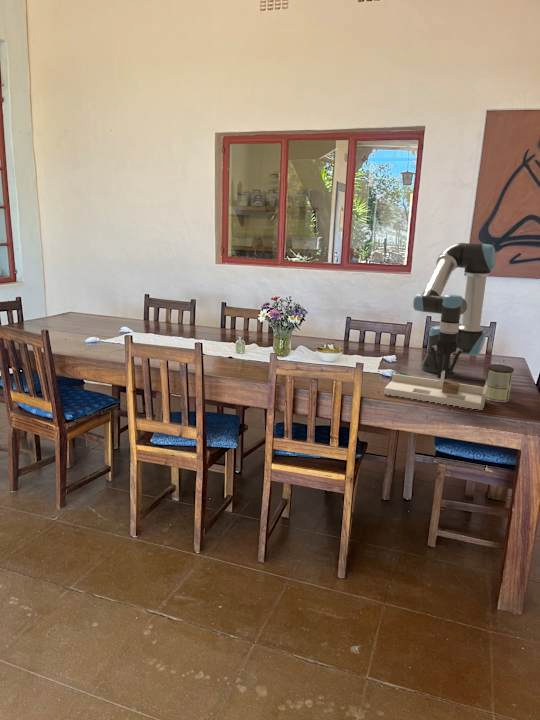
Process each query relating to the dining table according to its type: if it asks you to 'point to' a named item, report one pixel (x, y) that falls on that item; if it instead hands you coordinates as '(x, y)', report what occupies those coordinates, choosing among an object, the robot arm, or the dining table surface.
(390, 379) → the sunglasses
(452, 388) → the block
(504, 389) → the coffee can
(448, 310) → the robot arm
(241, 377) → the dining table surface
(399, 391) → the box
